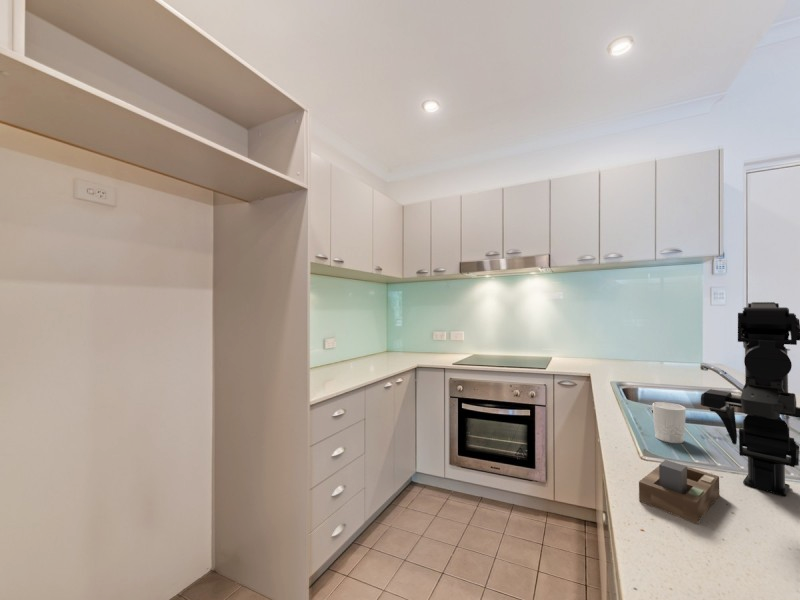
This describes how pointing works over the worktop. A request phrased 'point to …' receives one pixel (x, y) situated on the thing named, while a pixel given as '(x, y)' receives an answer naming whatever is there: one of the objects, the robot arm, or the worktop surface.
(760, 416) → the robot arm
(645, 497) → the socket block
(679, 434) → the white cup
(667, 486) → the plug
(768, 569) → the worktop surface
